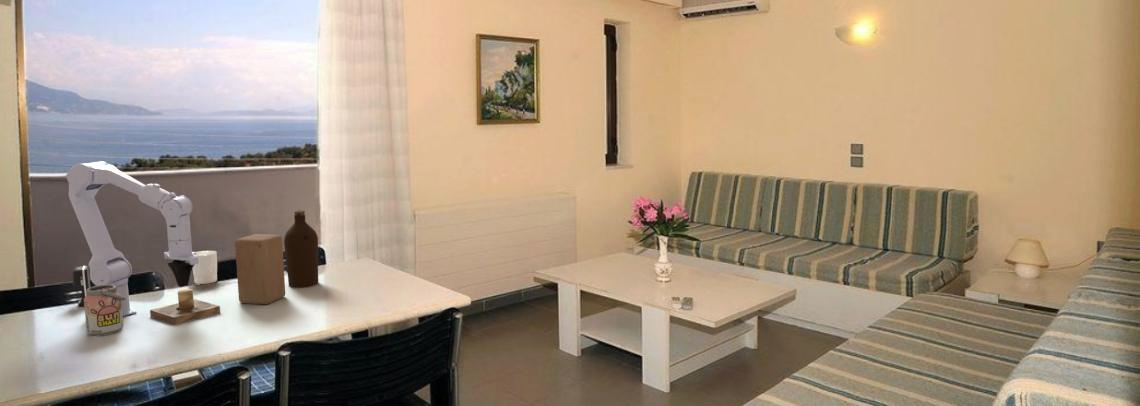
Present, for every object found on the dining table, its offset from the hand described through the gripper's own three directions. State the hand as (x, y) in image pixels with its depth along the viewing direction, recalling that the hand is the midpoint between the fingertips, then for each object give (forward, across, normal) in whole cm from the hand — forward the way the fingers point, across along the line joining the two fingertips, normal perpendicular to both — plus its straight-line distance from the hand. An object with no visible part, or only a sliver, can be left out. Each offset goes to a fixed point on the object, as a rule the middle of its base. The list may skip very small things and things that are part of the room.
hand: (183, 285), depth 196 cm
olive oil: (+9, +1, -40) cm, 41 cm away
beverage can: (+9, +3, +19) cm, 21 cm away
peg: (+8, 0, 0) cm, 9 cm away
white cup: (+9, +32, -24) cm, 41 cm away
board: (+8, 0, 0) cm, 9 cm away
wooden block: (+9, -5, -21) cm, 23 cm away
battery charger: (+9, +37, +11) cm, 40 cm away
